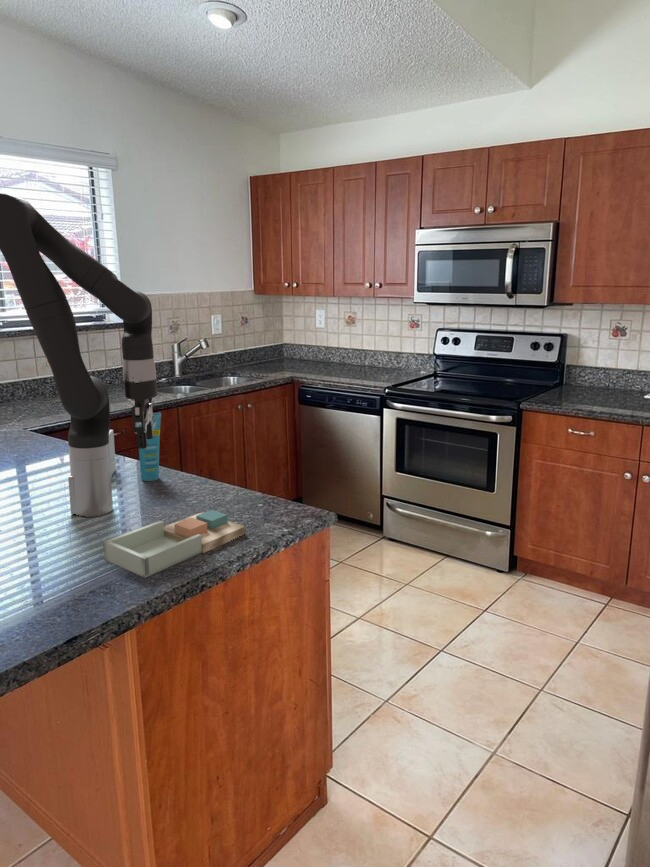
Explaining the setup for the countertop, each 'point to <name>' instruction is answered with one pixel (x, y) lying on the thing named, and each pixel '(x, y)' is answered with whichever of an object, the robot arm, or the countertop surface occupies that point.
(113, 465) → the supplement box
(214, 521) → the teal square block
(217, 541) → the maple plate
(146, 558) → the box
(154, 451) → the tube
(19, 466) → the countertop surface
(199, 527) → the terracotta tile
